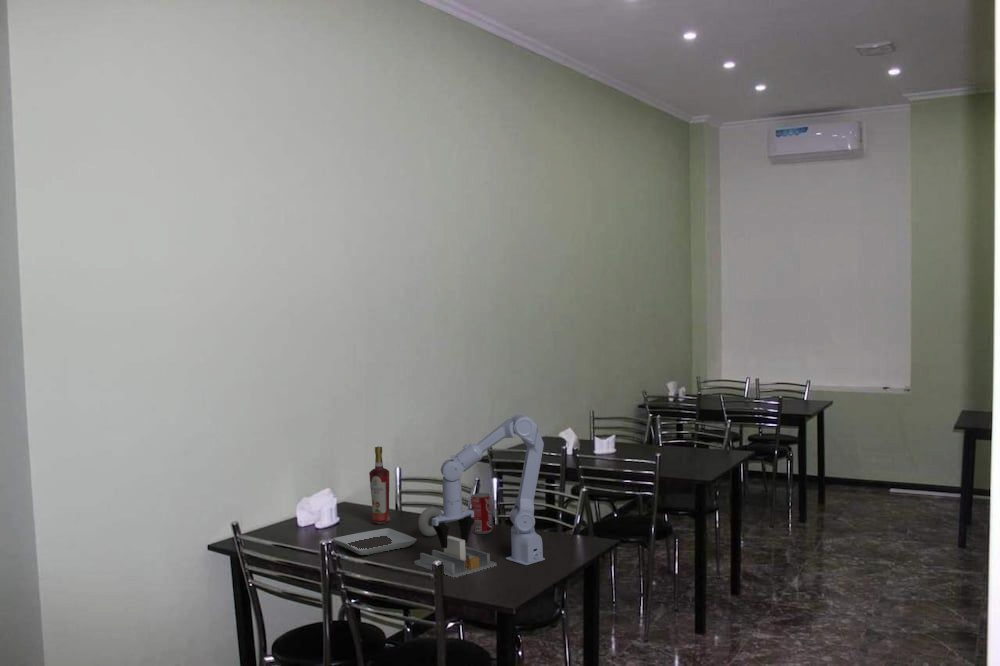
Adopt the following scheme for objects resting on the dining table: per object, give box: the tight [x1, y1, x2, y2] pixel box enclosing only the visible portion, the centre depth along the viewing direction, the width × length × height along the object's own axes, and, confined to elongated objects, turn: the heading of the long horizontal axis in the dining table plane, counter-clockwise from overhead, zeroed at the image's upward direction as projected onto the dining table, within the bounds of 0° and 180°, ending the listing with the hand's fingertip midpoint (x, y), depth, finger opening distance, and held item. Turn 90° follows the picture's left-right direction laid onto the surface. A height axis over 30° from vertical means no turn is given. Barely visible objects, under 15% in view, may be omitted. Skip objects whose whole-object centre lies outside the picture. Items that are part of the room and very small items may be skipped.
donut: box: [417, 506, 443, 537], centre depth 292 cm, size 10×4×10 cm, turn 129°
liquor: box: [368, 446, 391, 522], centre depth 313 cm, size 7×7×28 cm
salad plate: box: [332, 527, 417, 556], centre depth 281 cm, size 21×21×3 cm
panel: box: [443, 535, 466, 560], centre depth 257 cm, size 8×2×7 cm, turn 40°
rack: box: [413, 545, 497, 579], centre depth 257 cm, size 20×16×4 cm
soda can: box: [470, 492, 493, 535], centre depth 295 cm, size 7×7×13 cm
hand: (454, 544), depth 257 cm, fingers open, 7 cm apart
